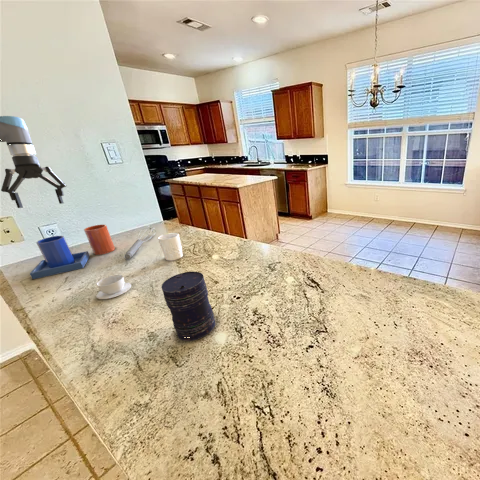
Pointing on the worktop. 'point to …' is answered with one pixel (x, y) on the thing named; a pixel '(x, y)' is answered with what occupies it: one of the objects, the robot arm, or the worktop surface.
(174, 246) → the white cup
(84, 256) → the blue tray
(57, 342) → the worktop surface
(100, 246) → the red cup
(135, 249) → the kitchen whisk
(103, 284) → the teacup
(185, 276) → the storage jar
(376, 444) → the worktop surface
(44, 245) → the blue cup
